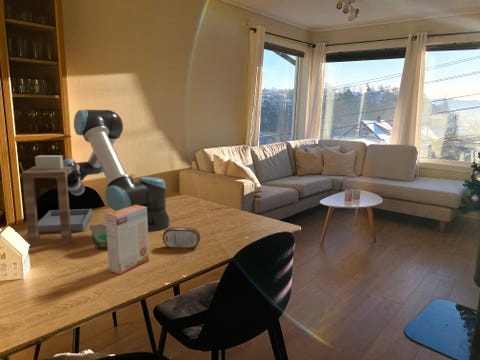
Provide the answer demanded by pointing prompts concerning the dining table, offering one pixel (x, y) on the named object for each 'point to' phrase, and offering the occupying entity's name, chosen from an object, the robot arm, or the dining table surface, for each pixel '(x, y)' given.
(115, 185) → the robot arm
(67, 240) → the shelf stand
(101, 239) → the food container
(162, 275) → the dining table surface
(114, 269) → the cracker box
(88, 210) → the tray
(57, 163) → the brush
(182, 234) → the tin
